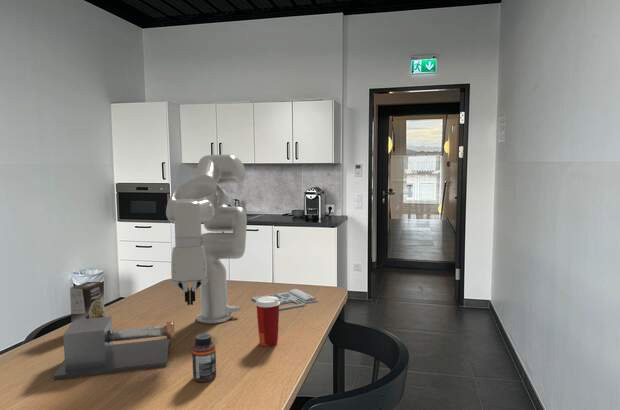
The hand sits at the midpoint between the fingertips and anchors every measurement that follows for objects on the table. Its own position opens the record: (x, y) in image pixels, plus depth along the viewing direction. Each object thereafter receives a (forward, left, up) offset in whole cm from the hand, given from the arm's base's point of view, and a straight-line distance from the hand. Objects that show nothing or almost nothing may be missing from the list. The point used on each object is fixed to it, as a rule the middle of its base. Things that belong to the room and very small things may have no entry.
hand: (190, 303), depth 130 cm
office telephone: (-38, -42, -15) cm, 59 cm away
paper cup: (-23, 0, -15) cm, 28 cm away
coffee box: (+34, -29, -15) cm, 47 cm away
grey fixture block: (+21, -1, -15) cm, 25 cm away
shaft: (+16, -1, -10) cm, 19 cm away
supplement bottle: (-3, +18, -15) cm, 24 cm away
